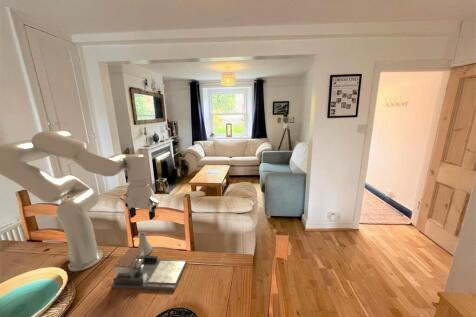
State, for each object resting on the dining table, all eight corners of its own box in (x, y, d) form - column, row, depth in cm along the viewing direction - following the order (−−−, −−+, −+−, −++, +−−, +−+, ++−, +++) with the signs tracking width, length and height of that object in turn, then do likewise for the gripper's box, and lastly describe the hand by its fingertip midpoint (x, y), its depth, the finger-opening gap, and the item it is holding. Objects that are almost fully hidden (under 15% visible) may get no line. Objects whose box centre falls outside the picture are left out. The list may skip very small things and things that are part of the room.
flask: (155, 247, 97) (153, 229, 94) (147, 258, 90) (144, 239, 87) (142, 246, 97) (139, 229, 95) (133, 257, 90) (130, 238, 88)
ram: (116, 280, 76) (113, 265, 74) (132, 260, 85) (130, 248, 84) (135, 280, 75) (132, 266, 74) (148, 261, 85) (146, 248, 83)
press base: (111, 287, 74) (110, 280, 73) (133, 261, 88) (132, 254, 87) (174, 290, 72) (173, 283, 72) (186, 263, 86) (185, 256, 85)
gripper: (114, 184, 82) (120, 220, 86) (151, 186, 79) (155, 223, 83) (127, 178, 90) (131, 212, 93) (161, 180, 87) (164, 214, 90)
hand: (142, 217), depth 88 cm, fingers open, 9 cm apart
